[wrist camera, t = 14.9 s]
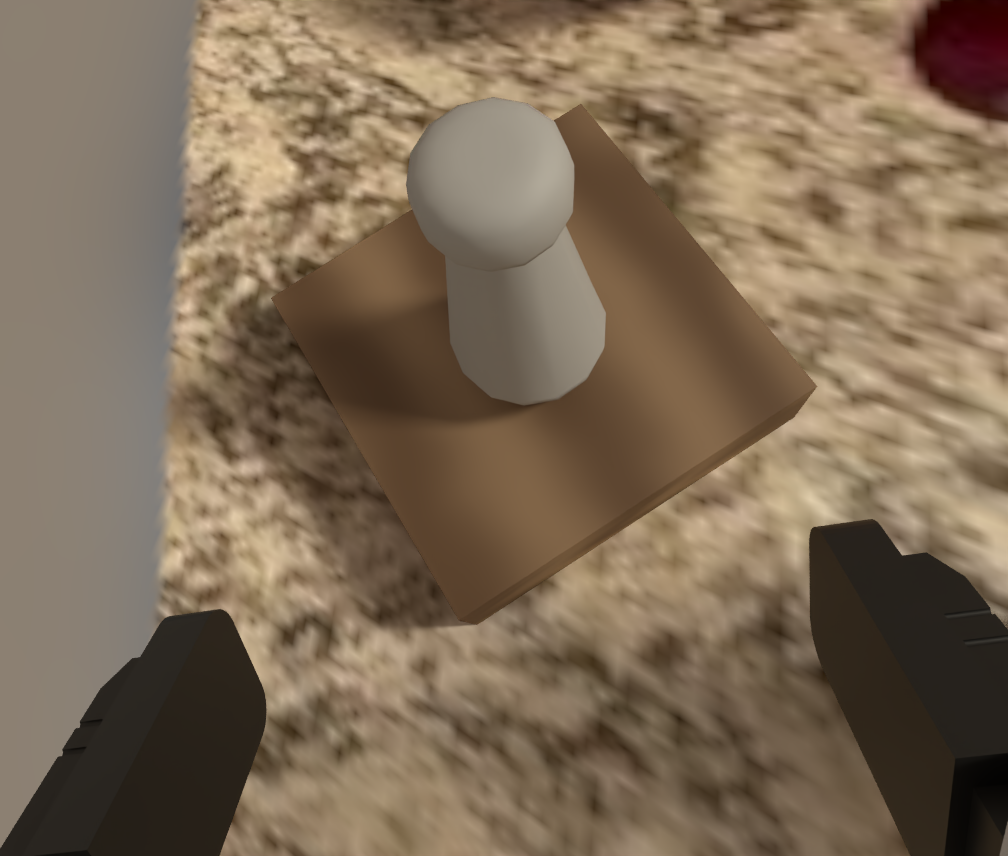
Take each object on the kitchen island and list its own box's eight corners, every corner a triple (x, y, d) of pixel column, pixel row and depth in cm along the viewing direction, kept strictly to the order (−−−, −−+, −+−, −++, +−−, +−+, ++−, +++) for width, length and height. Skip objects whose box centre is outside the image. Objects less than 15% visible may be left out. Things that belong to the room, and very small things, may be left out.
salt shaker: (444, 401, 31) (332, 232, 19) (486, 274, 32) (408, 39, 20) (585, 437, 30) (565, 283, 18) (624, 304, 31) (630, 74, 19)
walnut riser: (584, 159, 38) (581, 103, 34) (793, 417, 33) (817, 386, 29) (305, 334, 37) (270, 298, 34) (477, 624, 32) (458, 620, 29)
